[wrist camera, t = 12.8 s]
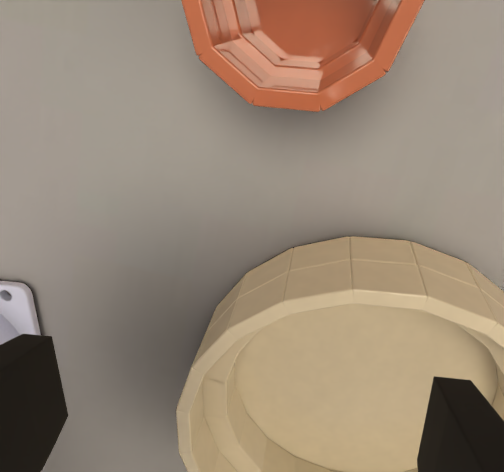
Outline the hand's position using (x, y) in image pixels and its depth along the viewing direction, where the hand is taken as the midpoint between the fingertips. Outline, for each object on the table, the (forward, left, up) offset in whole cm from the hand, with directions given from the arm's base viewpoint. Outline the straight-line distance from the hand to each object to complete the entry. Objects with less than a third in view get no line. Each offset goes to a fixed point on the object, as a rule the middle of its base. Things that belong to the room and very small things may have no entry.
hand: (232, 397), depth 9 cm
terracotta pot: (+1, +7, -9) cm, 12 cm away
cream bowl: (+3, -7, -9) cm, 12 cm away
